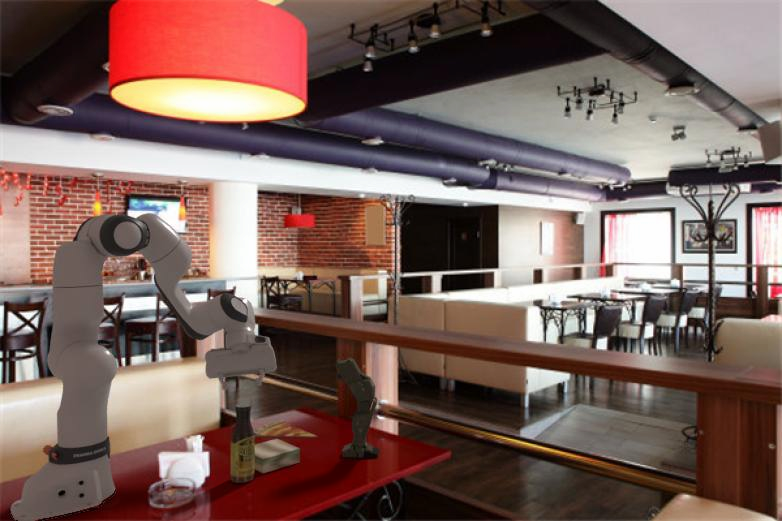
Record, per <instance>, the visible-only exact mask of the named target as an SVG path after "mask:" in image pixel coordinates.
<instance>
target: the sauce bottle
mask: <svg viewBox="0 0 782 521" xmlns="http://www.w3.org/2000/svg"><path fill="white" fill-rule="evenodd" d="M234 408H235V409H234V410H235V424H234V426H233V427H232V429H231V432H230V433H231V436H230V437H231V439H230V480H231V482H232V483H236V484H244V483H249V482H251V481H252V480H254V478H255V471H256V469H255V444H256V437H255V435H254V429H253V425H252V422H251V411H252V404H250V403H239V404H236V405H235V407H234Z"/></svg>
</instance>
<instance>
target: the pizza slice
mask: <svg viewBox="0 0 782 521" xmlns="http://www.w3.org/2000/svg"><path fill="white" fill-rule="evenodd" d="M253 431H254V435H255V438H318V435H315V434H313V433H312V432H308V431H307V430H306V431H305V430H304V429H301V428H298V427H296V426H294V425H291V424H289V423H287V422H286V421H285V419H284V418H281V419H276V420H273V421H269V422H267V423H265V424H262V425H260V426H259V427H257V428H256V429H255V430H254V429H253Z"/></svg>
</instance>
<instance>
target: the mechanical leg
mask: <svg viewBox="0 0 782 521" xmlns="http://www.w3.org/2000/svg"><path fill="white" fill-rule="evenodd" d="M335 368H336V369H337V370H336V371H337V372H338V373H337V375H336V376H335V378H336V379H338V380H339V381H341V382H344V383H345V384H346V385H347V386H348V388H349V390H350V392H351V393H352V394H353V396H354V397H355V400H356V401H357V402H356V407H357V411H355V412H354V413H353V414H352V416H351V429H352V434H353V438H352V439H351V443H348V444H345V445H344V446H343V448H342V450H341V454H342V458H358V459H376V458H377V459H378V458H379V456H380V452H381V451H380V449H379V447H376V446H375V447H374V446H373V445H371V444H369V443H368V441H367V436H368V433H369V431H370V427H371V424H372V420H373V416H374V413H375V410H376V407H377V404H378V403H377V402H378V398H377V397H376V385H375V383H374V381H373V379H372V377H371V376H369V375H367V374H365V373H363V372H362V371H361V368H360V367H359V366H358V364H357V362H356V360H355V358H351V357H348V358H347V359H344V360H340V359H338V360H337V361H336V363H335Z"/></svg>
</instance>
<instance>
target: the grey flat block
mask: <svg viewBox="0 0 782 521" xmlns="http://www.w3.org/2000/svg"><path fill="white" fill-rule="evenodd" d="M300 456H301V448H299V447H297V446H295V445H292V444H290V443H288V442H286V441H284V440H281V439H279V438H275V439H271V440H267V441H263V442H260V443H259V442H258V443H255V471H257V472H260V473H261V474H266V473H268V472H273V471H276V470H278V469H279V470H280V469H281V468H286V467H289V466H292V465H294V464H298V463H301V457H300Z"/></svg>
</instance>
